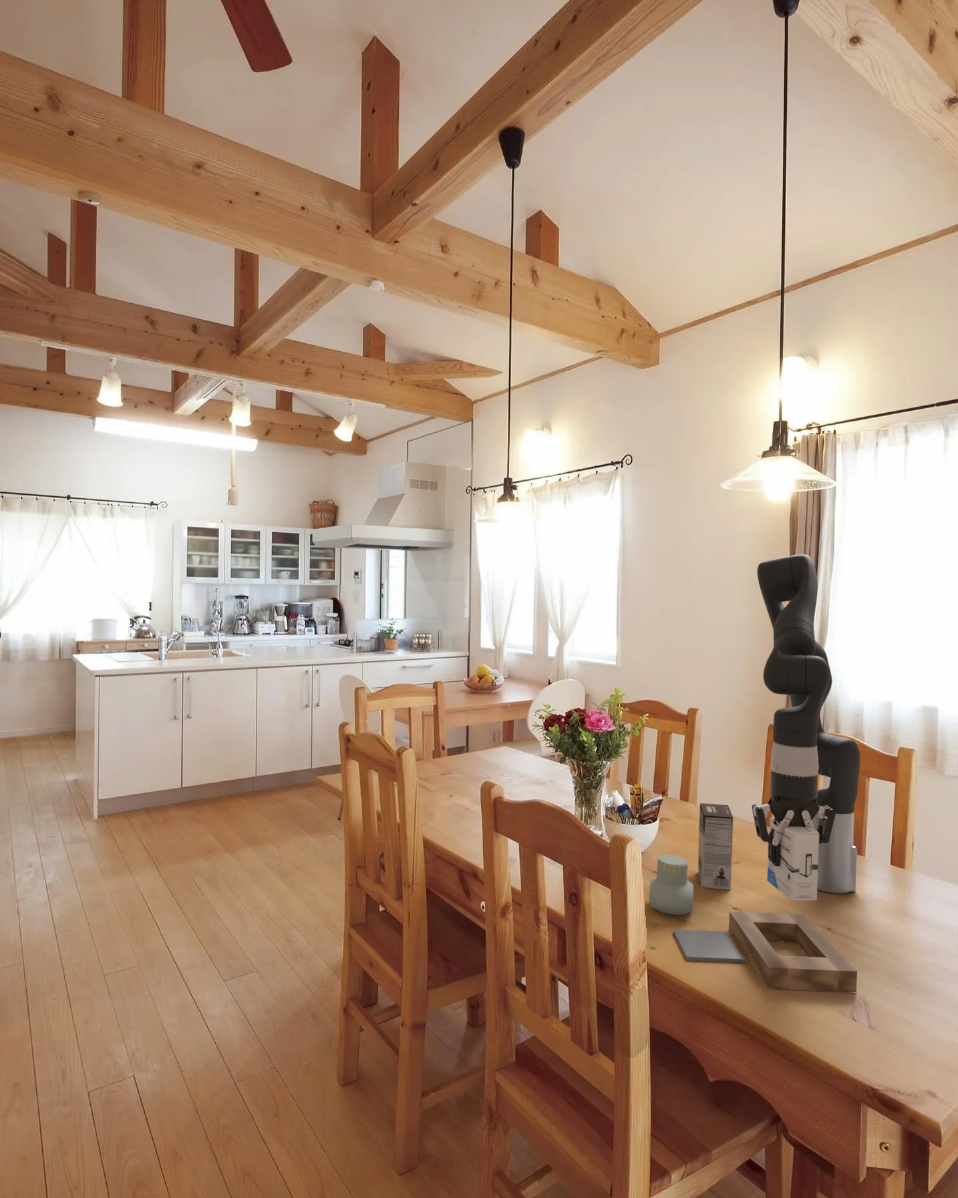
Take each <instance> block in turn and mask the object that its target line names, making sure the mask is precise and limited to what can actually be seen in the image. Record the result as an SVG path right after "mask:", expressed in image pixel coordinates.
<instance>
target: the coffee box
mask: <svg viewBox="0 0 958 1198" xmlns="http://www.w3.org/2000/svg"><path fill="white" fill-rule="evenodd" d="M698 818H699V821H698V823H699V825H698V831H699V832H698V857H697V858H698V859H697V860H698V861H697V872H698V877H699V882H700V884H701V887H702V888H705V889H706V888H707V889H713V890H714V889H716V890H724V891H725V890H727V891H731V890H732V865H733V863H732V862H733V861H732V859H733V837H734V836H733V833H734V816H733V813H732V811H731V809H730V806H729V805H728V804H719V803H717V804H716V803H703V802H700V803H699V817H698Z"/></svg>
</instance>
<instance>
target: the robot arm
mask: <svg viewBox="0 0 958 1198" xmlns="http://www.w3.org/2000/svg"><path fill="white" fill-rule="evenodd" d="M756 575H757V580H758V584H759V589H760V593H761V595H762V599H763V602H764V605H765V608H766V611H767V614H768V617H769V620H770V623H771V627H772V631H773V633H772V634H773V648H772V650H771V652H770V655H769V656H768V658H767V660H766V662H765V665H764V668H763V673H762V674H763V677H762V678H763V683H764V685H765V687H766V689H768V690H769V692H771V693H773V694H777V695H783V696H787V695H788V696H789V698H790V703H791V706H790V707H788V706H787V707H782V708H779V709H776V710H775V712H774V714H773V726H772V727H773V729H772V730H773V731H772V732H773V733H772V748H771V754H770V797H769V800H768V802H767V803H766V804H764V803H763V804H759V805H758V804H757V803H754V804H752V806H751V811H752V817H753V821H754V826H755V832H756V835H757V837H758V838H759V839H760V840H761V841H762V842H765V843H767V860H768V859H769V860H770V861H771V863H772V864H773V865H774V866H780V846H779V845H778V844H779V842H780V840H781V837H782V835H784V831H785V828H787V827H793V826H801V827H806V828H810V827H811V828H813V829H815V830H816V831H818V833H819V851H818V880H817V891H822V892H825V893H830V894H847V893H849V892H856V891H857V864H858V863H857V861H858V849H857V846H855V845H854V830H855V829H854V826H855V804H856V801H857V797H858V793H859V792H858V791H859V780H860V779H859V777H860V769H861V752H860V748H859V746H858V743H857V742H856V741H854V739H851V738H848V737H844V736H839V735H835V734H830V733H829V734H828V733H826V732H825V730H824V729H823V728H824V727H823V724H822V719H821V710H822V708H823V706H824V703H825V702H826V700H827V698H828V696H829V694H830V691H831V689H832V686H833V685H832V684H833V676H832V675H833V674H832V672H831V668H830V667H831V666H830V663H829V659H828V655H827V653H826V650H825V649H824V648H823V647H822V645H820V643H819V642H817V640H816V637H815V626H814V624H815V623H814V622H815V614H816V607H817V599H818V591H819V584H818V583H819V581H818V574H817V570H816V566H815V563H814V562H813V560H812V558H811V557H810V555H807V554H804V553H800V554H794V555H793V554H792V555H788V556H787V555H786V556H783V557H778V558H774V559H769V560H765V561H761V562H760V563H759V564H758V565H757V573H756ZM789 601H790V602H789ZM785 602H788V603H787V605H786V606H785V605H784V604H783V603H785ZM819 775H820V776H824V777H828V778H830V779H829V784H828V787H827V788H818V787H819V786H818V785H819V780H818V779H819ZM769 812H771V814H772V815H773V816H772V818H773V820H772V823H771V828H770V827H769V829H770V831H768V828H767V821H766V819H767V818H768V814H769ZM776 821H777V822H779V823H780V825H779V826H778V825H777V824H776V823H777V822H776Z"/></svg>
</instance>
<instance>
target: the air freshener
mask: <svg viewBox="0 0 958 1198" xmlns="http://www.w3.org/2000/svg"><path fill="white" fill-rule="evenodd" d="M656 862H657V864H656V865H657V866H656V867H657V868H656V876H653V877H651V878H650V885H649V901H648V902H649V905H650V906H651V907H652V908H653V909H655V910H657V911H659V912H660V913H662V914H666V915H670V916H671V915H672V916H681V915H682V916H683V915H685V914H689V913H691V912H693V910H694V884H693V883H692V882H691V881H690V880H688V866H689V865H688V861H687V860H686V859H685V858H684V857H681V856H678V855H674V854H663V855H661V856H659V857H658V858H657V861H656Z"/></svg>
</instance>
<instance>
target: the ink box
mask: <svg viewBox="0 0 958 1198" xmlns="http://www.w3.org/2000/svg"><path fill="white" fill-rule="evenodd" d="M773 818H774V817H769V829H768V830H769V831H770V828H771V823H772V820H773ZM776 822H777V821H776ZM776 824H777V825H778V826H779V825H780V823H779V822H777V823H776ZM769 831H768V832H769ZM778 845H779V846H780V866H774V865H773V864H772V863H771V861H770V860H769V859H768V858H767V873H766V874H767V876H766V877H767V879H766V881H767V882H768V883H770V885H772V886H773V887H774V888H776V889H777V890H778V891H779V892H780V893H781V894H783V895H784V896H785V897H786V898H787V899H788V900H790V901H793V902H794V901H817V900H818V889H817V880H818V851H819V833H818V831H816V830H815V829H813V828H811V827H810V828H806V827H801V826H793V827H787V828H785V831H784V835H782V837H781V840H780V842H779V844H778Z"/></svg>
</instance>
